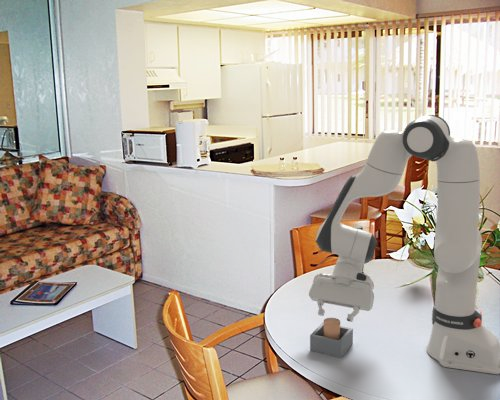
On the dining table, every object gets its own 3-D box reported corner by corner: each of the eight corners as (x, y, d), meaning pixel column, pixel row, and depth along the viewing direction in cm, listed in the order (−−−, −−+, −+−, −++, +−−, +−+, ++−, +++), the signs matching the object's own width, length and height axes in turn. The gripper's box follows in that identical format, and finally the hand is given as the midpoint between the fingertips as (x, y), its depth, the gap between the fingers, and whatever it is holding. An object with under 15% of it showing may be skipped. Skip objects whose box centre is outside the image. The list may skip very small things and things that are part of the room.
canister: (342, 341, 170) (342, 319, 169) (336, 349, 166) (336, 326, 164) (327, 338, 173) (327, 316, 171) (321, 345, 169) (321, 322, 167)
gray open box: (352, 343, 171) (353, 328, 170) (341, 357, 163) (341, 342, 162) (322, 336, 176) (322, 322, 175) (310, 350, 168) (310, 335, 167)
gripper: (313, 268, 178) (300, 307, 172) (375, 278, 168) (364, 320, 162) (318, 276, 182) (306, 315, 176) (379, 286, 172) (368, 328, 166)
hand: (334, 317), depth 169 cm, fingers open, 8 cm apart
